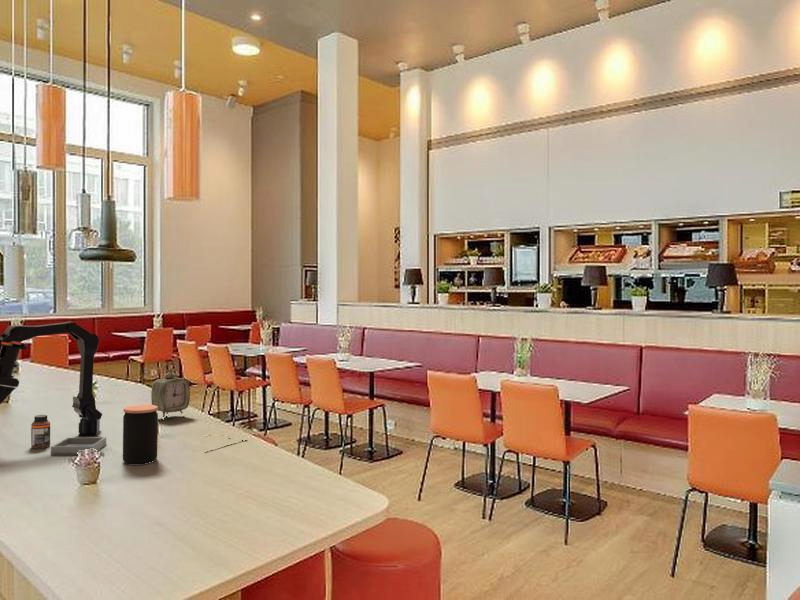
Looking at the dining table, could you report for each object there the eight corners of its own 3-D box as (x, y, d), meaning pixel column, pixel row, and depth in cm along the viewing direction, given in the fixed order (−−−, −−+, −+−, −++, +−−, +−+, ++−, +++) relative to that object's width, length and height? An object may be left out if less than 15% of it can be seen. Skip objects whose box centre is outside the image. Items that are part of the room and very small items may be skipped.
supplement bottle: (36, 444, 225) (36, 413, 224) (53, 444, 225) (53, 413, 225) (27, 449, 219) (28, 417, 218) (45, 449, 219) (45, 417, 219)
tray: (106, 444, 226) (106, 437, 226) (92, 454, 213) (92, 446, 213) (67, 445, 225) (67, 437, 225) (50, 455, 211) (50, 447, 211)
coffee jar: (164, 459, 209) (165, 406, 208) (138, 467, 199) (139, 411, 199) (141, 455, 213) (142, 403, 213) (115, 463, 204) (116, 408, 203)
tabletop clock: (162, 422, 266) (163, 364, 266) (148, 419, 271) (149, 362, 271) (189, 416, 278) (190, 361, 278) (176, 414, 283) (177, 359, 283)
